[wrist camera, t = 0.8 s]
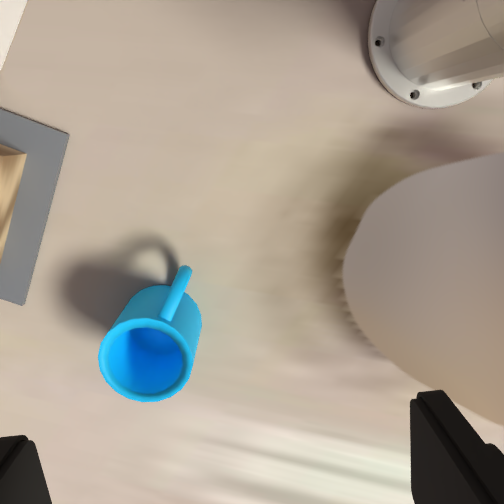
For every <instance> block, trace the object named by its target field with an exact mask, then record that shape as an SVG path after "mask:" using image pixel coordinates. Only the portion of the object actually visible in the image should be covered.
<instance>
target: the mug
mask: <svg viewBox="0 0 504 504" xmlns="http://www.w3.org/2000/svg"><path fill="white" fill-rule="evenodd" d="M191 274H192V270H191V268H190V267H188V266H186V265H183V266H181V267H180V268H179V270H178V272H177V274H176V277H175V279H174V281H173V283H172V285H171V286H167V285H155V286H150V287H148V288H145V289H142V290H140V291H139V292H138V293H137V294H135V295H134V296H133V297H132V298H131V300H130V301H129V302H128V304H127V305H126V307H125V308H124V310H123V311H122V313H121V314H120V316H119V317H118V318H117V320H116V321H115V323H114V324H113V326H112V327H111V329H110V330H109V332H108V333H107V335H106V336H105V338H104V339H103V341H102V342H101V345H100V349H99V354H98V360H99V367H100V371H101V373H102V375H103V377H104V379H105V380H106V382H107V383H108V384H109V385H110V386H111V387H112V388H113V389H114V390H115V391H116V392H117V393H119V394H121V395H123V396H125V397H127V398H128V399H132V400H136V401H141V402H157V401H160V400H163V399H166V398H169V397H171V396H173V395H174V394H176V393H177V392H178V391H180V390H181V389H182V388H183V386H184V385H185V384H186V382H187V381H188V379H189V377H190V374H191V370H192V366H193V362H194V358H195V353H196V349H197V344H198V340H199V336H200V331H201V327H202V322H201V313H200V311H199V309H198V306H197V304H196V303H195V302H194V301H193V299H192V298H191V297H190V296H189V295H188V294H186V293H185V292H184V291H185V289H186V286H187V284H188V281H189V279H190V277H191Z"/></svg>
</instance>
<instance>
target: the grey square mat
mask: <svg viewBox="0 0 504 504" xmlns="http://www.w3.org/2000/svg"><path fill="white" fill-rule="evenodd" d="M69 135H70V134H67V133H64V132H62V131H59V130H56V129H54V128H51V127H49V126H46V125H43V124H41V123H38V122H35V121H33V120H30V119H28V118H25V117H22V116H20V115H17V114H14V113H12V112H9V111H7V110H4V109H1V108H0V144H2V145H4V146H7V147H10V148H13V149H15V150H18V151H21V152H23V153H26V154H27V156H26V160H25V164H24V168H23V172H22V176H21V181H20V185H19V189H18V193H17V197H16V201H15V205H14V209H13V213H12V218H11V222H10V226H9V230H8V234H7V238H6V242H5V246H4V250H3V255H2V259H1V263H0V299H3V300H6V301H9V302H12V303H15V304H18V305H21V306H22V305H24V304H25V301H26V297H27V293H28V290H29V286H30V282H31V278H32V275H33V271H34V267H35V263H36V260H37V256H38V252H39V248H40V244H41V241H42V237H43V233H44V229H45V226H46V222H47V218H48V214H49V211H50V207H51V203H52V199H53V195H54V192H55V188H56V184H57V180H58V177H59V173H60V169H61V165H62V162H63V158H64V154H65V150H66V146H67V143H68V139H69Z"/></svg>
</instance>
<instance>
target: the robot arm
mask: <svg viewBox="0 0 504 504" xmlns="http://www.w3.org/2000/svg"><path fill="white" fill-rule="evenodd" d="M375 41H379V43H380V44H379V46H376V45H375ZM368 49H369V56H370V60H371V63H372V66H373V69H374V71H375V73H376V75H377V77H378V79H379V80H380V82H381V83H382V84H383V86H384V87H385V88H386V89H387V90H388V92H390V93H391V94H392V95H393V96H395V97H396V98H397V99H399V100H401V101H403V102H405V103H407V104H409V105H411V106H415V107H419V108H427V109H438V108H446V107H450V106H454V105H458V104H461V103H463V102H465V101H467V100H469V99H471V98H473V97H474V96H476V95H477V94H479V93H480V92H482V91H483V90H484V89H485V88H486V87H487V86H488V85H489V84H490V83H491V82H492V81H493V80H494V79H495V78H500V77H504V0H376V3H375V5H374V8H373V10H372V13H371V18H370V22H369V26H368ZM472 83H474V87H472ZM411 92H412V93H413V94H414V96H413V98H411V97H410V93H411ZM410 437H411V490H412V496H413V500H414V503H415V504H504V455H503V453H502V452H501V451H500V450H499V449H498V448H497V447H496V446H495V445H493V444H491V443H489V444H485V443H484V441H483V440H482V439H481V438H480V436H479V435H478V434H477V433H476V431H475V430H474V429H473V428H472V426H471V425H470V424H469V422H468V421H467V420H466V419H465V417H464V416H463V415H462V414H461V412H460V411H459V410H458V408H457V407H456V406H455V405H454V403H453V402H452V401H451V400H450V398H449V397H448V396H447V395H446V393H445V392H444V391H443V390H435V391H426V392H419V393H418V394H417V399H412V400H411V401H410ZM0 504H52V502H51V498H50V495H49V491H48V488H47V484H46V481H45V477H44V474H43V470H42V467H41V463H40V460H39V456H38V453H37V449H36V446H35V443H34V442H33V441H31V440H28V438H27V437H26V436H25V435H18V436H9V437H1V438H0Z"/></svg>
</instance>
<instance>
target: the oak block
mask: <svg viewBox="0 0 504 504" xmlns="http://www.w3.org/2000/svg"><path fill="white" fill-rule="evenodd" d="M26 156H27V154H26V153H23V152H21V151H18V150H15V149H13V148H10V147H7V146H4V145H2V144H0V263H1V259H2V255H3V250H4V246H5V242H6V238H7V234H8V230H9V226H10V222H11V218H12V213H13V209H14V205H15V201H16V197H17V193H18V189H19V185H20V181H21V176H22V172H23V168H24V164H25V160H26Z"/></svg>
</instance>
